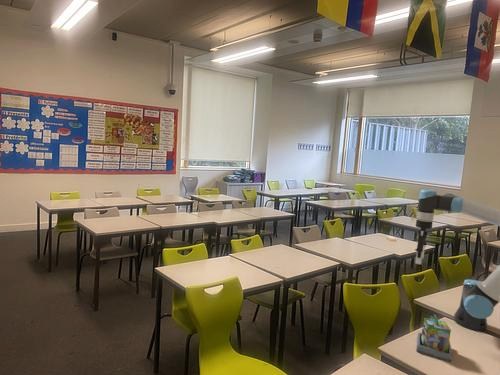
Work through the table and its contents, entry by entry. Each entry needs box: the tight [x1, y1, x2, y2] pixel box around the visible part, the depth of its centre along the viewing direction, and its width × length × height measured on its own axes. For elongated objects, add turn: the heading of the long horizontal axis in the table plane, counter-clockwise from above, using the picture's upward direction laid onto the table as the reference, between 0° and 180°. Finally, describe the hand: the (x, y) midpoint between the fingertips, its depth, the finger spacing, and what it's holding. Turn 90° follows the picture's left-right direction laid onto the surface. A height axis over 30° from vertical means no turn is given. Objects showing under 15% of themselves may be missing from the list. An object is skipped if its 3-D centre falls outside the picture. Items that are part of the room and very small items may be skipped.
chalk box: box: [421, 313, 452, 353], centre depth 163 cm, size 9×9×15 cm
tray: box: [416, 332, 453, 363], centre depth 164 cm, size 13×13×3 cm
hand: (419, 260), depth 190 cm, fingers open, 13 cm apart
